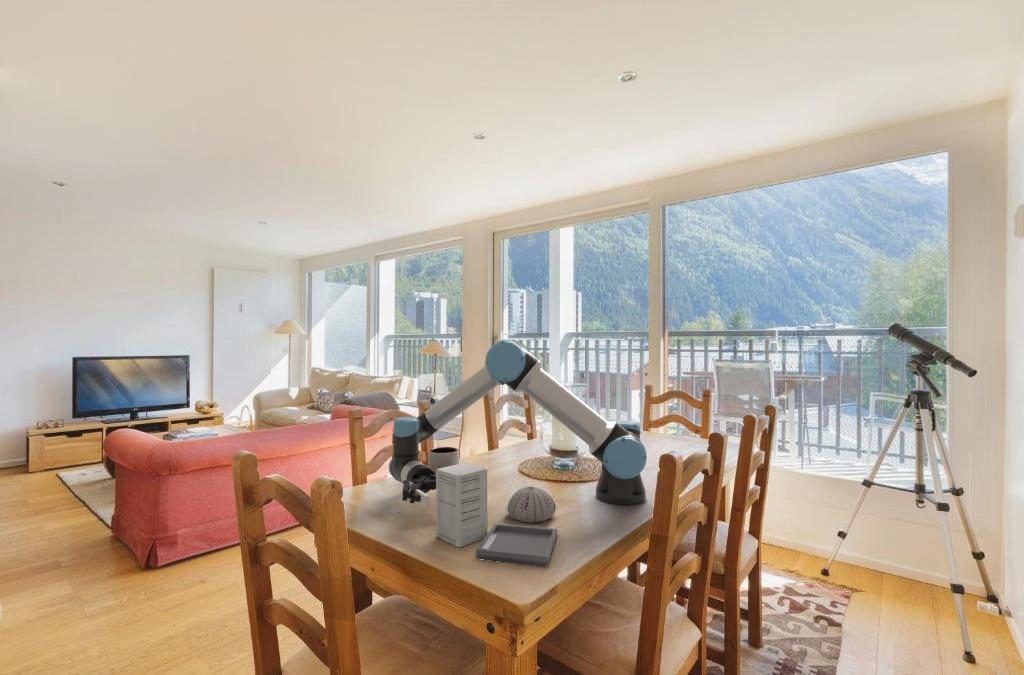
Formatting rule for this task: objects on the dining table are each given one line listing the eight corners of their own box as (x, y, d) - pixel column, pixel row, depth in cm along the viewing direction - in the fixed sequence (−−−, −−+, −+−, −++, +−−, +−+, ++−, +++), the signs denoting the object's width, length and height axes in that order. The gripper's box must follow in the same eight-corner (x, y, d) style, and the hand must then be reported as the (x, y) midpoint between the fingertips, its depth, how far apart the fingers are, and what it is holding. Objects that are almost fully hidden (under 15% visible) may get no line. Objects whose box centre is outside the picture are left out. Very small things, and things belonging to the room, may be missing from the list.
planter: (421, 478, 173) (421, 450, 173) (442, 471, 182) (442, 445, 182) (444, 483, 166) (444, 454, 166) (465, 476, 175) (465, 449, 175)
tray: (557, 537, 121) (557, 528, 121) (547, 567, 105) (548, 556, 105) (494, 531, 125) (494, 523, 125) (476, 559, 109) (476, 549, 109)
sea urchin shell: (565, 519, 134) (565, 490, 134) (523, 529, 126) (523, 498, 127) (537, 505, 145) (537, 478, 145) (497, 514, 138) (497, 485, 138)
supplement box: (488, 537, 121) (489, 468, 121) (459, 548, 115) (459, 476, 115) (463, 526, 128) (464, 461, 128) (434, 536, 121) (435, 468, 121)
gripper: (457, 483, 149) (494, 503, 131) (375, 498, 135) (405, 522, 117) (457, 458, 149) (494, 474, 131) (376, 470, 135) (405, 490, 117)
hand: (452, 497), depth 124 cm, fingers open, 13 cm apart
